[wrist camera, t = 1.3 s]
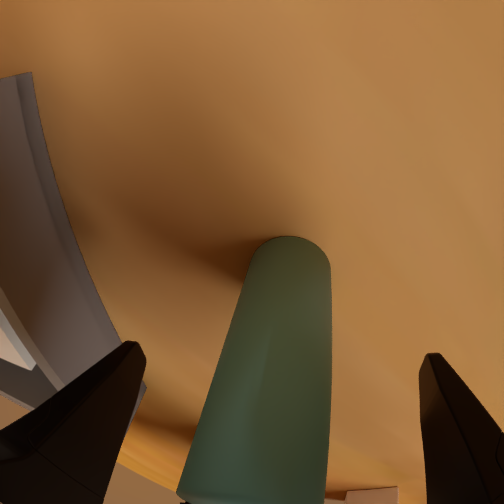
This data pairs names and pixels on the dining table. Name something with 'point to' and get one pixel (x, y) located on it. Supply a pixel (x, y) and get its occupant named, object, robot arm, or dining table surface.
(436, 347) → the dining table surface
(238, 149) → the dining table surface
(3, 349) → the box
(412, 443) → the dining table surface
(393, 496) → the milk
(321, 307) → the peg
